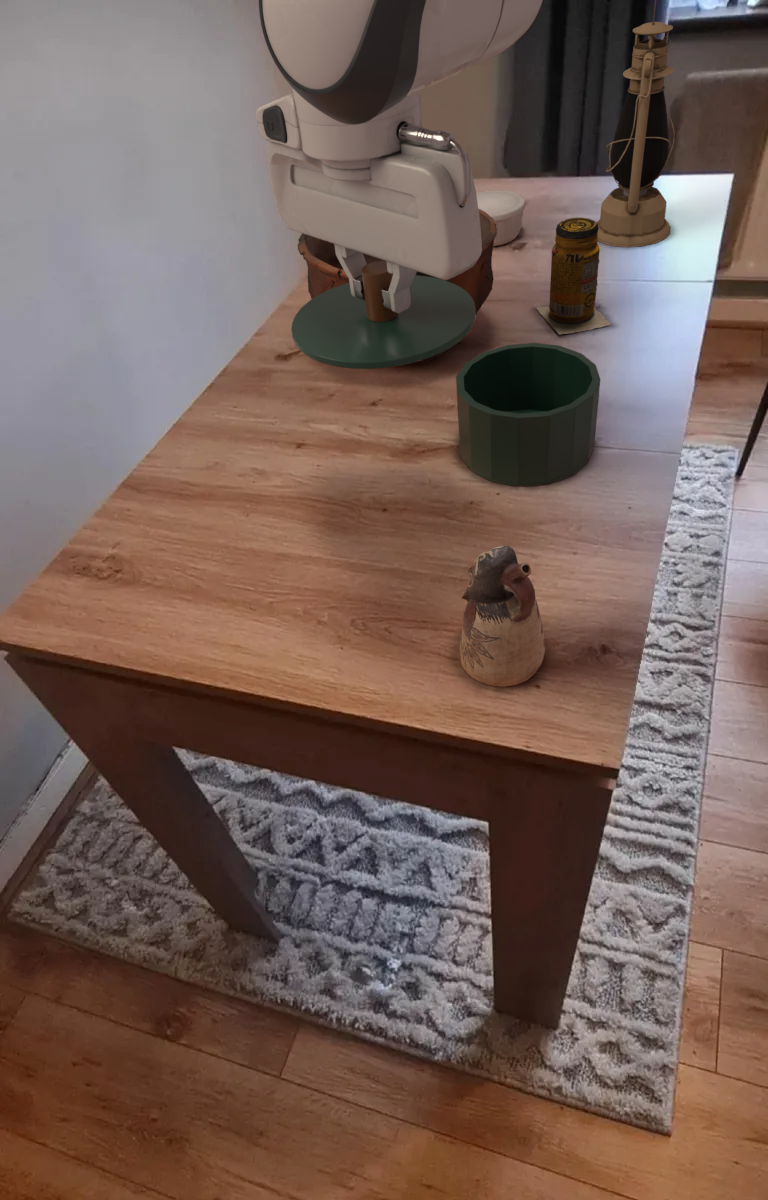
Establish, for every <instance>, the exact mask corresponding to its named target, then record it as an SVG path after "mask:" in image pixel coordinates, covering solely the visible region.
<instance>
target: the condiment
mask: <svg viewBox="0 0 768 1200" xmlns="http://www.w3.org/2000/svg"><path fill="white" fill-rule="evenodd" d="M598 229H599V228H598V224H597V221H596V220H594V219H591V218H587V217H570V218H566V219H564V220H562V221H560V222H559V223H558V224H557V225H556V228H555V237H554V242H555V244H554V245H553V247H552V248H551V260H550V261H551V262H550V263H551V265H550V282H549V283H550V284H549V302H548V303H549V305H545V306H539V307H536V310H537V311H538V312H539V315H541V316H542V317H543V319H545V321H546V322H547V323H548V324H549V325H550V327H551V328H552V330H554V331H555V332H556V333H557V334H558V335H569V334H575V333H580V332H585V331H591V330H593V329H597V328H599V329H600V328H603V327H607V326H612V324H611V322H609V321H608V319H607V318H606V317H605V316H604V315H603V314H602V313H601V312H599V311H598V310H597V309H596V307H595V305H596V298H597V290H598V277H599V274H598V273H599V264H600V249H601V248H600V245H599V244H598V242H599V241H598Z"/></svg>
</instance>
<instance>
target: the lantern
mask: <svg viewBox="0 0 768 1200" xmlns="http://www.w3.org/2000/svg"><path fill="white" fill-rule="evenodd" d="M656 6H657V0H654V7H653V18H652V21H651V22H646V23H643V24H641V25H639V26H637V27H634V28H633V29H632V33H634V34H635V38H634V46H633V49H632V54H631V56H632V58H631V67H629V68H628V69H625V70H624V71H623V73H622V76H623V77H624V78H626V79H630V80H629V87H628V89H627V95H626V98H625V101H624V103H623V106H622V109H621V112H620V115H619V118H618V122H617V125H616V128H615V132H614V136H613V139H612V142H609V143H608V144H606V151H607V153H608V157H609V158H608V159H609V160H608V161H609V166H608V167H607V168H606V169H605V171H606V173H608V172H611V176H612V178H613V180H614V181H615V183H616V184H617V187H616V188H614V189H613V190H612V191H611V192H610V193H609V194H608V195H607V196H606V197H605V199H604V200H603V201H602V202H601V205H600V216H599V219H598V221H596V223H597V224H598V228H599V229H598V241H597V242H599V243H601V244H604V245H608V246H613V247H619V248H620V247H621V248H636V247H645V246H650V245H654V244H657V243H659V242H661V241H664V240H665V239H666V238H668V237H669V236H670V235H671V225H670V223H669V221H668V220H667V219H666V212H667V200H666V199H665V197H664V196H663V194H662V192H661V191H660V190H659V189H658V188H657V187H654V185H655V182H656V181H657V180H658V179H659V178H660V176H662V174H663V173H664V170H665V168H666V166H667V163H668V160H669V158H670V155H671V153H672V150H673V148H674V145H675V128H674V124H673V121H672V118H671V117H670V115H669V113H668V112H667V103H666V97H665V91H664V90H665V89H666V86H665V85H664V84H665V78H666V77H668V76H670V75H672V74H673V73H674V69H673V67H671V66H669V65H667V60H668V59H667V58H668V53H669V44H668V42H669V41H668V40H669V33H670V31H672V30H673V28H674V26H673V25H671V24H666V23H665V22H662V21H655V17H656V16H655V15H656ZM661 34H664V36H663V39H660V38H657V36H656V35H661ZM641 35H642V36H648V37H647V39H643V40H641V39H640V36H641ZM668 119H669V121H670V124H671V128H672V134H673V138H672V144H671V141H670V139H669V138H670V137H669V123H668ZM609 146H610V147H609ZM608 147H609V149H608Z"/></svg>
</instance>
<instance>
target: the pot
mask: <svg viewBox="0 0 768 1200" xmlns="http://www.w3.org/2000/svg"><path fill="white" fill-rule="evenodd" d="M455 382H456V385H455V386H456V401H457V402H456V403H457V418H458V419H457V422H458V442H459V443H458V444H459V454H460V458H461V459H462V461H463V463H464V464H465V466H466V467H467V468H468V469H469V470H470V471H471V472H472V473H474V474H475V475H477V476H479V477H481V478H483V479H484V480H487V481H490V482H493V483H496V484H501V485H506V486H512V487H513V486H514V487H535V486H544V485H549V484H552V483H557V482H560V481H562V480H565V479H567V478H569V477H570V476H573V475H574V474H576V473H577V472H578V471H580V470H581V469H583V467H585V465H586V464H587V463H588V461H589V460H590V459H591V457H592V454H593V450H594V446H595V442H596V433H597V432H596V431H597V420H598V411H599V400H600V399H599V398H600V390H601V388H600V387H601V377H600V374H599V370H598V368H597V365H596V364H595V363H594V362H593V361H592V360H591V359H590V358H588V357H587V356H585V355H584V354H583V353H581V352H580V351H576V350H573V349H570V348H567V347H565V346H563V345H558V344H548V343H539V342H525V343H517V344H507V345H503V346H499V347H496V348H492V349H489V350H485V351H483V352H481V353H480V354H478V355H476V356H474V357H473V358H471V359H470V360H468V361H467V362H465V363H464V364H463V367H462V368H461V369H460V371H459V372H458V373H457V375H456V376H455Z"/></svg>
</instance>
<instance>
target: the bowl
mask: <svg viewBox="0 0 768 1200" xmlns="http://www.w3.org/2000/svg"><path fill="white" fill-rule="evenodd" d="M478 210H479V217H480V227H481V238H482V253H481V256H480V257H479V259H478V261H477V262H476V263H475V265H474V266H473V267H471V268H470V269H468V270H466V271H465V272H463V273H461V274H459V275H457V276H455V277H453V278H451V279H448V280H445V281H448V282H450V283H453V284H455V285H457V286H459V287H461V288H462V289H463V290H465V291H466V292H467V293H468V294H469V295H470V296H471V297H472V299H473V301H474V304H475V307H476V315H478V313H479V311H480V310H481V308H482V307H483V305H484V304H485V302H486V301H487V299H488V297H489V295H490V294H491V292H492V290H493V284H494V271H493V264H492V263H493V261H492V259H493V250H494V246H493V244H494V239H495V237H496V234H497V228H496V223H495V222H494V220H493V218H492V217H490V216H489V215H488V214H487V213H486V212H484V211H482V210H480V209H478ZM297 251H298V253H299V255H301V256H302V258H303V260H304V261H305V262H306V266H307V289H308V290H307V291H308V293H309V296H310V300H312V299H313V298H315V297H316V296H318V295H320V294H322V293H323V292H326V291H328V290H330V289H332V288H335V287H337V286H340V285H343V284H346V283H349V277H347V275H346V273H345V271H344V269H343V267H342V265H341V264H340V262H339V260H338V258H337V256H336V252H335V246H334V244H333V243H330V242H327V241H324V240H321V239H318V238H315V237H312V236H309V235H306V234H303V233H301V234H300V236H299V237H298V243H297ZM363 256H364V258H365V261H366V263H367V264H369V263H372V262H379V261H384V262H386V261H385V260H382V259H379V258H376V257H373V256H370V255H367V254H364V253H363ZM416 275H419V276H427V277H433V276H430V275H427V274H424V273H421V272H418V271H417V272H416ZM433 278H436V277H433ZM438 279H439V278H438ZM441 280H443V279H441ZM443 353H445V351H443V352H441V353H439V354H437V355H435V356H432V357H430V358H427V359H424V360H421V361H422V362H428V361H432V360H434V359H435V358H438V357H439V356H440V355H442V354H443ZM415 363H416V362H414V363H410V364H406V365H405V366H407V365H412V364H415Z"/></svg>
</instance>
